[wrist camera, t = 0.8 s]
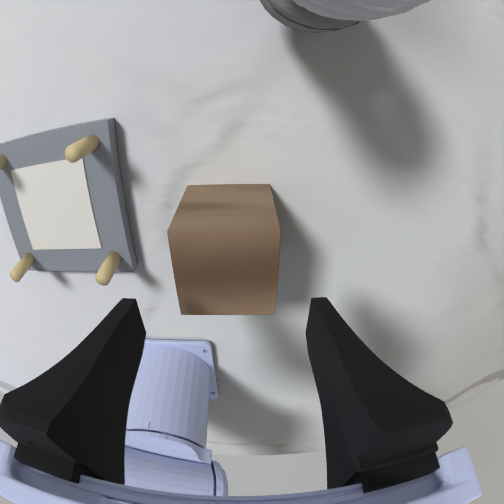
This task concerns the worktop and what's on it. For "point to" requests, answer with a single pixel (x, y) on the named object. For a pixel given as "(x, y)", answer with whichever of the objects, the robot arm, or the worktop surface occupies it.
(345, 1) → the light bulb
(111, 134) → the standoff board
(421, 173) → the worktop surface
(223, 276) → the walnut block
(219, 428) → the worktop surface
